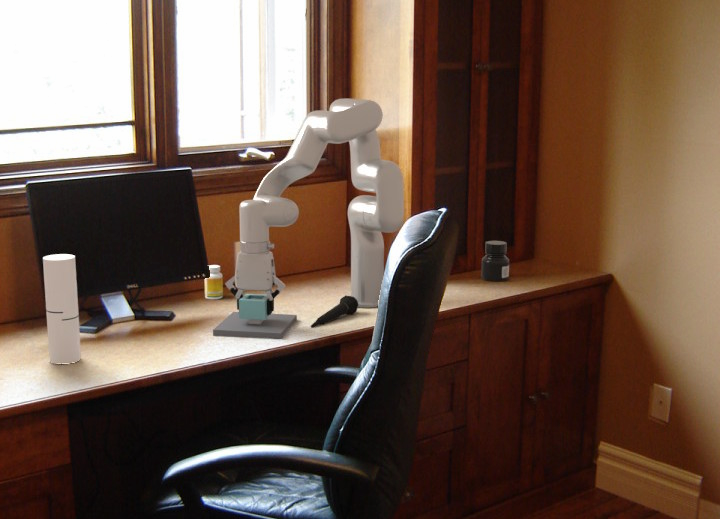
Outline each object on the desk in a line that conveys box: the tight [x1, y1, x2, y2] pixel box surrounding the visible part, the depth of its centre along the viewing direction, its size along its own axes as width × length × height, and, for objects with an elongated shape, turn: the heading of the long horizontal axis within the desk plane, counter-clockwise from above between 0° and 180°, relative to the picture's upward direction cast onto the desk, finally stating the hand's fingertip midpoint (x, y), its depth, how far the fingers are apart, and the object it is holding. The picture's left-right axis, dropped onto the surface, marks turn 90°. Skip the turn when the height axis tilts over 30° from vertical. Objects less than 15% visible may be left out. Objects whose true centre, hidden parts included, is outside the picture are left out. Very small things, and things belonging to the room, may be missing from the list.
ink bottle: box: [480, 240, 510, 282], centre depth 312 cm, size 10×9×12 cm
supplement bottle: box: [203, 264, 224, 300], centre depth 287 cm, size 5×5×10 cm
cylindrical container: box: [42, 253, 82, 364], centre depth 226 cm, size 7×7×25 cm
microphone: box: [310, 294, 359, 328], centre depth 265 cm, size 6×6×20 cm
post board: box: [212, 299, 298, 340], centre depth 256 cm, size 18×18×8 cm
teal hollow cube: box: [238, 293, 269, 320], centre depth 255 cm, size 7×7×5 cm
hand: (255, 312), depth 256 cm, fingers closed on teal hollow cube, 7 cm apart
